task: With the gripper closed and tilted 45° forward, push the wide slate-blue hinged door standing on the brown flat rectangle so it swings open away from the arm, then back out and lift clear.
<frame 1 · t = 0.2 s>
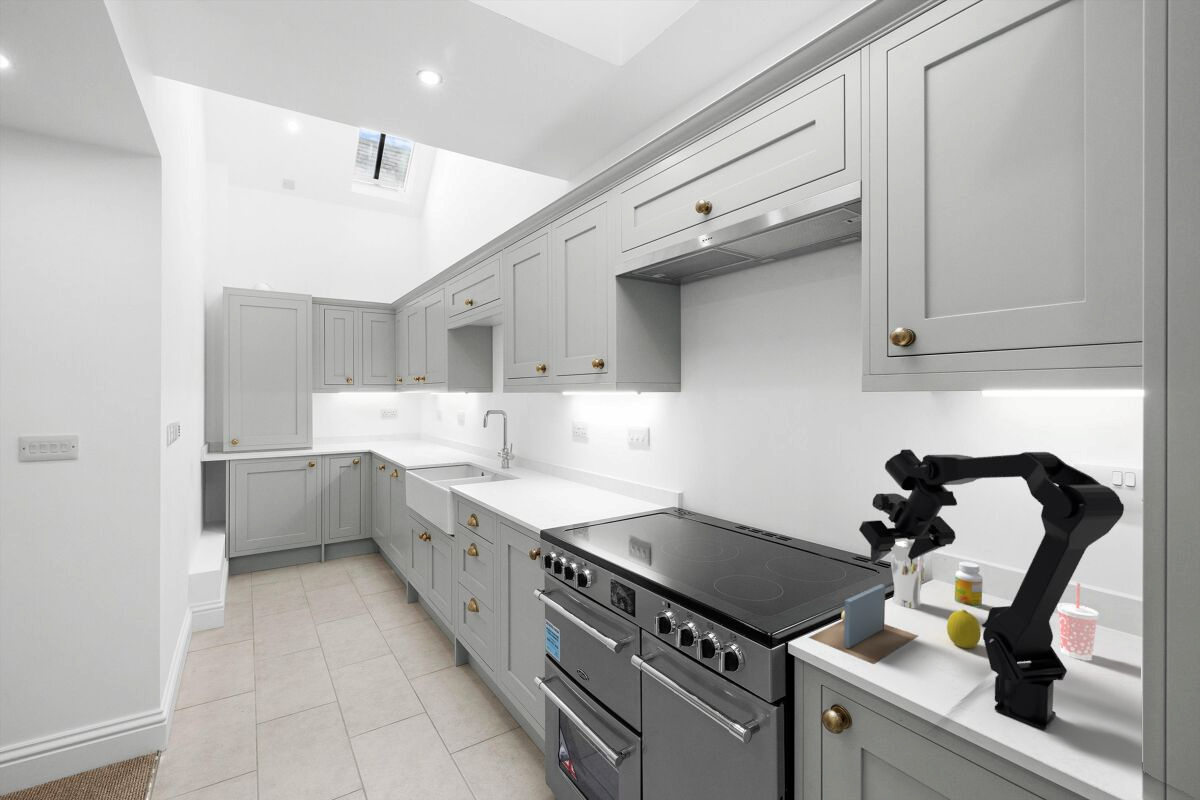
hand: (891, 559, 116), 15 cm above the worktop, tool tilted 30°, fingers open, 9 cm apart
door: (862, 613, 110), point 6 cm above the worktop, hinge at 0.0°
lemon: (962, 650, 107), on the worktop
supplement bottle: (967, 605, 130), on the worktop
brown flat rectangle: (863, 641, 110), on the worktop
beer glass: (906, 608, 128), on the worktop
beverage cup: (1075, 655, 106), on the worktop
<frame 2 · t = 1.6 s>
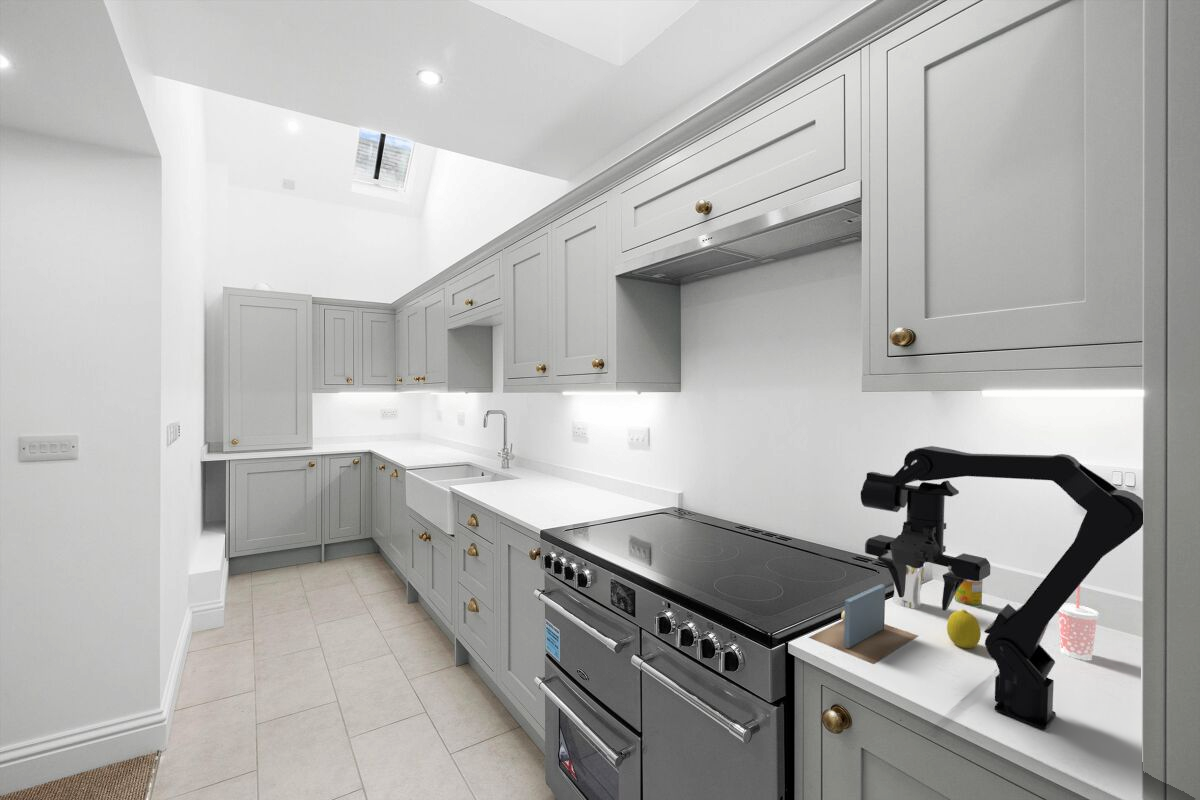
hand: (922, 603, 97), 13 cm above the worktop, tool pointing down, fingers open, 7 cm apart
nothing on the worktop moved.
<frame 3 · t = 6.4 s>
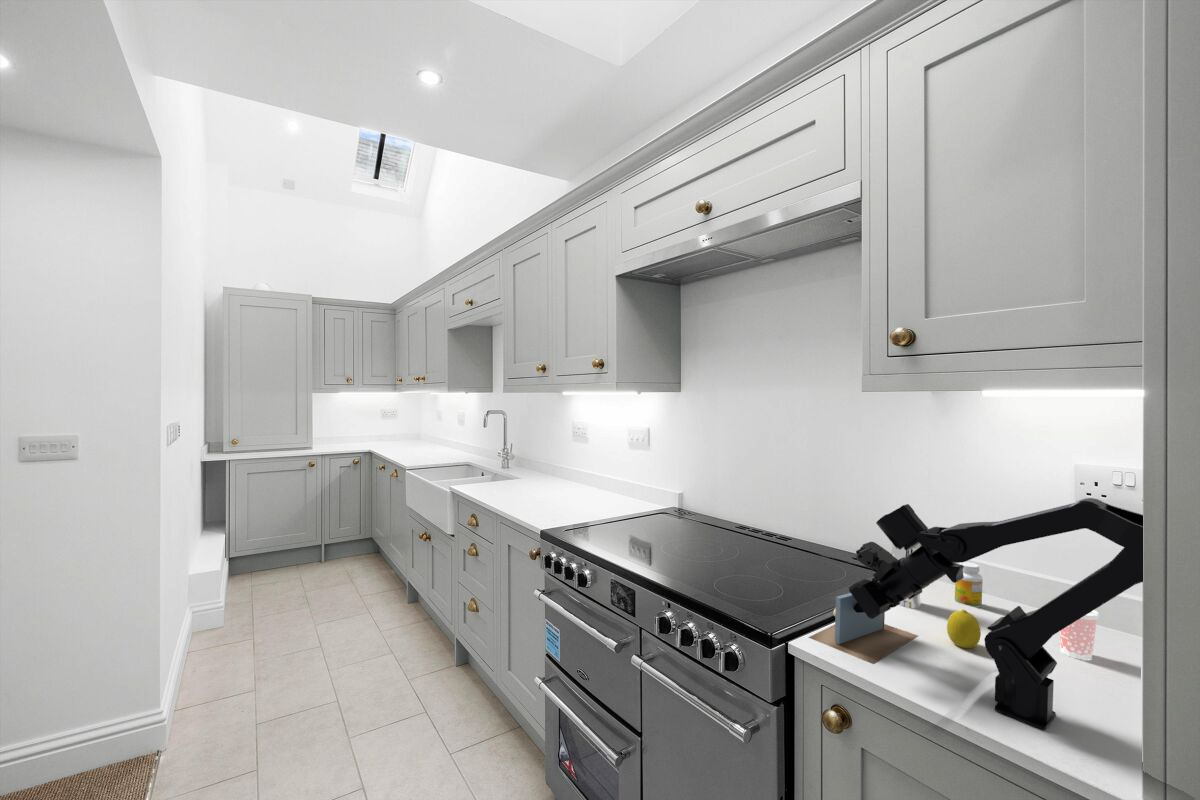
hand: (855, 609, 108), 7 cm above the worktop, tool tilted 45°, fingers closed, pressing on door
door: (858, 611, 111), point 6 cm above the worktop, hinge at 7.9°, touching gripper
everything else where it was.
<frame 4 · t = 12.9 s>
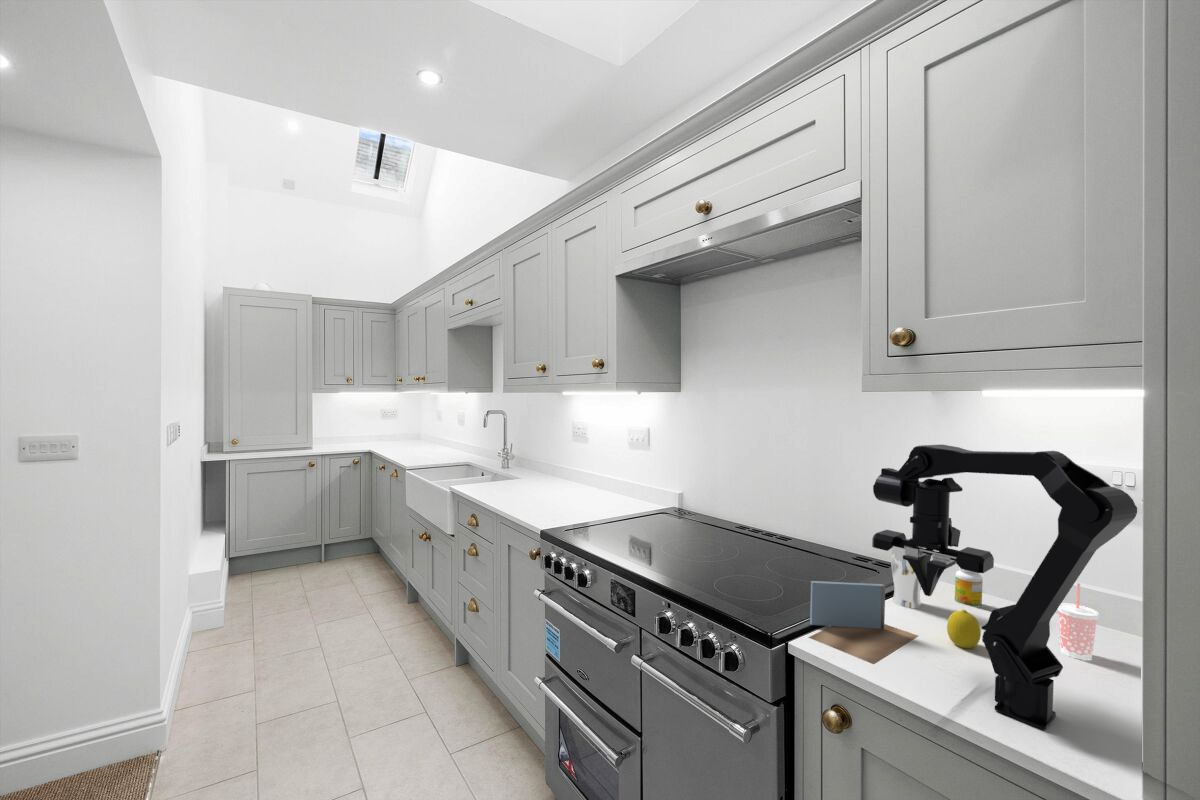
hand: (928, 595, 101), 13 cm above the worktop, tool pointing down, fingers closed
door: (846, 603, 115), point 6 cm above the worktop, hinge at 43.0°
everything else where it was.
at the end: door at +43° (first picture: +0°); lemon moved 0.2 cm from its start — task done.
